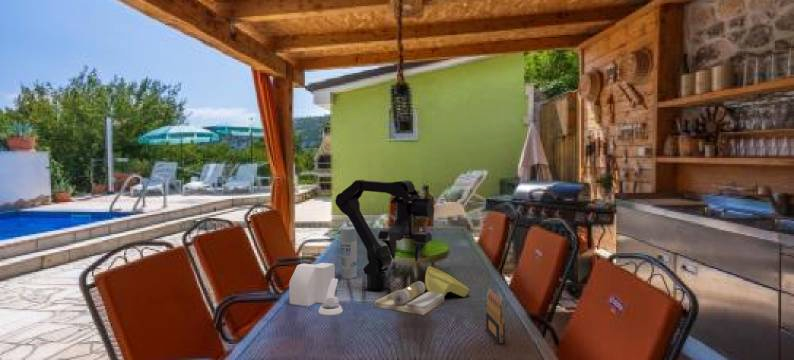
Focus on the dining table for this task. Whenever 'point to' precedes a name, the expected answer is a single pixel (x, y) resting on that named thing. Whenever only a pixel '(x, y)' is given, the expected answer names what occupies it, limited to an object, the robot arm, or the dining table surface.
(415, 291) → the brass cylinder with flap
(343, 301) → the dining table surface
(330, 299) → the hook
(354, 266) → the spray paint can
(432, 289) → the plastic component
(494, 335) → the ammunition clip
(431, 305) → the hinge base
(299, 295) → the white rounded block
